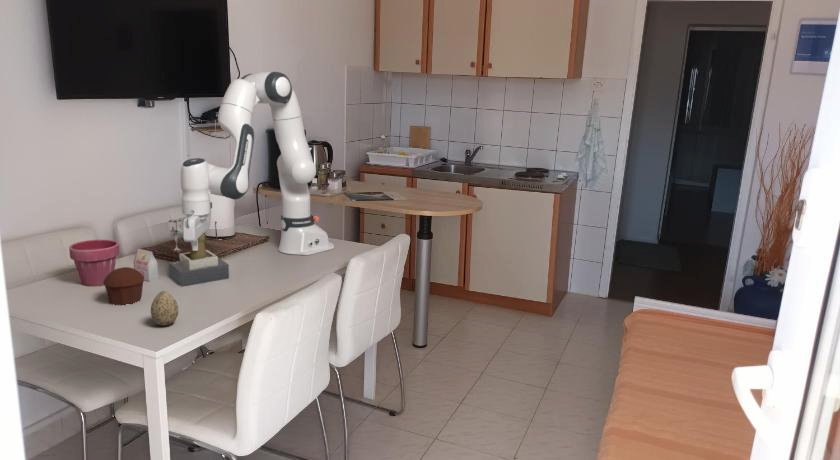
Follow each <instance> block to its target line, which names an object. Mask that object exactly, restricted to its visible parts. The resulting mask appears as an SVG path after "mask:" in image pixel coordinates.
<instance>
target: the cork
mask: <svg viewBox="0 0 840 460" xmlns="http://www.w3.org/2000/svg"><path fill="white" fill-rule="evenodd" d="M205 240H206V234H205V232H204V233H203V234H202V235H201V236H200V237H199V238H198V244H199V249H198V250H197V251H193V250H192V244H191V243H190V251H189V252H190V259H191V260H193V259H199V258H206V257H207V256H206V251H205V250H206V246H205Z"/></svg>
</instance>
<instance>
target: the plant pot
mask: <svg viewBox="0 0 840 460" xmlns="http://www.w3.org/2000/svg"><path fill="white" fill-rule="evenodd" d="M68 248H69V257H70V259H71V260H72V261H74V266H75V269H76V271H77V274H78V277H79V279H80V282H81V284H82V285H84V286H87V287H97V286H98V287H99V286H105V285H104V284H103V281H104V280H105V278H106V277H107V275H108V274H109V273H110V272H112V271H114V270H115V269H116V263H117V262H116V261H117V257H118V256H119V254H120V248H119V242H118V241H117V240H113V239H88V240H82V241H78V242H75V243H72V244H71V245H69V247H68Z"/></svg>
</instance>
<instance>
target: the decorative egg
mask: <svg viewBox="0 0 840 460" xmlns="http://www.w3.org/2000/svg"><path fill="white" fill-rule="evenodd" d="M178 315H179V305H178V302H177V301H176V299H175V297H174V296H173V295H172V294H171V293H170V292H168V291H166V290H161V291H159V292H158V294H156V296H155V297H154V298H153V300H152V302H151V305H150V316H151V318H152V320H153V321H154V322H155V324H157V325H158V326H164V327H165V326H169V325H172V324H173V323H174V322H175V321H176V320H177V317H178Z"/></svg>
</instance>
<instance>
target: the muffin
mask: <svg viewBox="0 0 840 460" xmlns="http://www.w3.org/2000/svg"><path fill="white" fill-rule="evenodd" d="M144 282H145V281H144V276H143V275H142V274H141V273H140V272H139V271H137V270H135V269H134V267H129V266H127V267H126V266H125V267H118V268H115V269H114V271H112V272H110V273H109V274H108V275H107V277H106V278H105V280H104V281H103V284H104V285H103V286H104V287H105V291H106V294H107V297H108V301H109V304H112V305H113V304H114V305H113V306H122V305H124V306H127V305H126V304H130V305H134V304H136V303H139V302H141V299H142V298H141V297H142V295H143V286H144ZM138 301H139V302H138ZM135 302H136V303H135ZM133 303H134V304H133Z"/></svg>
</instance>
